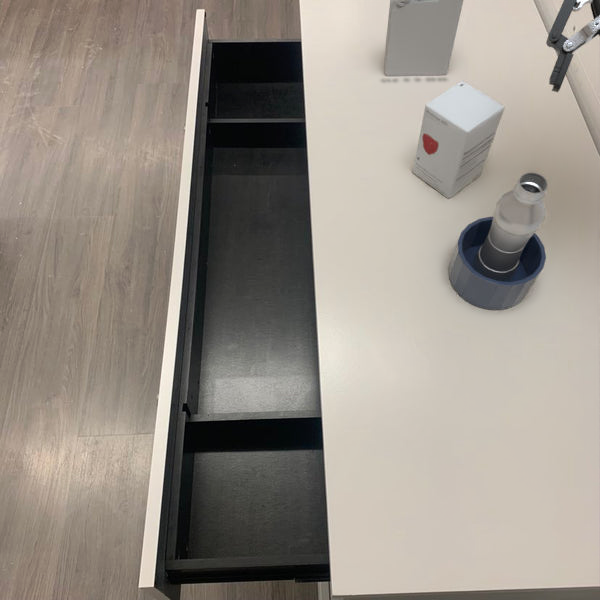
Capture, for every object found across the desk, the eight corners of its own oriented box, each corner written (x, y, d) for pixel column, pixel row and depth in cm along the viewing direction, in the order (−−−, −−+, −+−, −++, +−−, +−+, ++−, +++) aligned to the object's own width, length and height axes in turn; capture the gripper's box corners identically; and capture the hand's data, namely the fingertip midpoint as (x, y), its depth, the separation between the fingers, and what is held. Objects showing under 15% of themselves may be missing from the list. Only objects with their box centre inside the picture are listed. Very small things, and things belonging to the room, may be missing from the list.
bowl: (547, 287, 82) (564, 260, 76) (483, 323, 79) (496, 299, 73) (493, 233, 88) (505, 205, 82) (432, 265, 85) (440, 238, 79)
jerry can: (372, 77, 110) (383, -54, 89) (371, 62, 113) (382, -69, 91) (447, 76, 109) (476, -57, 88) (444, 61, 112) (472, -72, 90)
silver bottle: (518, 266, 83) (567, 174, 66) (503, 298, 80) (551, 210, 63) (478, 250, 85) (517, 156, 68) (462, 280, 82) (498, 191, 65)
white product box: (410, 172, 95) (423, 103, 83) (444, 148, 98) (461, 78, 85) (448, 200, 92) (468, 132, 79) (482, 175, 94) (507, 105, 82)
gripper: (597, -93, 52) (532, 78, 57) (759, -69, 48) (676, 111, 53) (584, -60, 59) (527, 90, 64) (726, -36, 55) (654, 121, 60)
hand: (595, 100), depth 58 cm, fingers open, 8 cm apart
